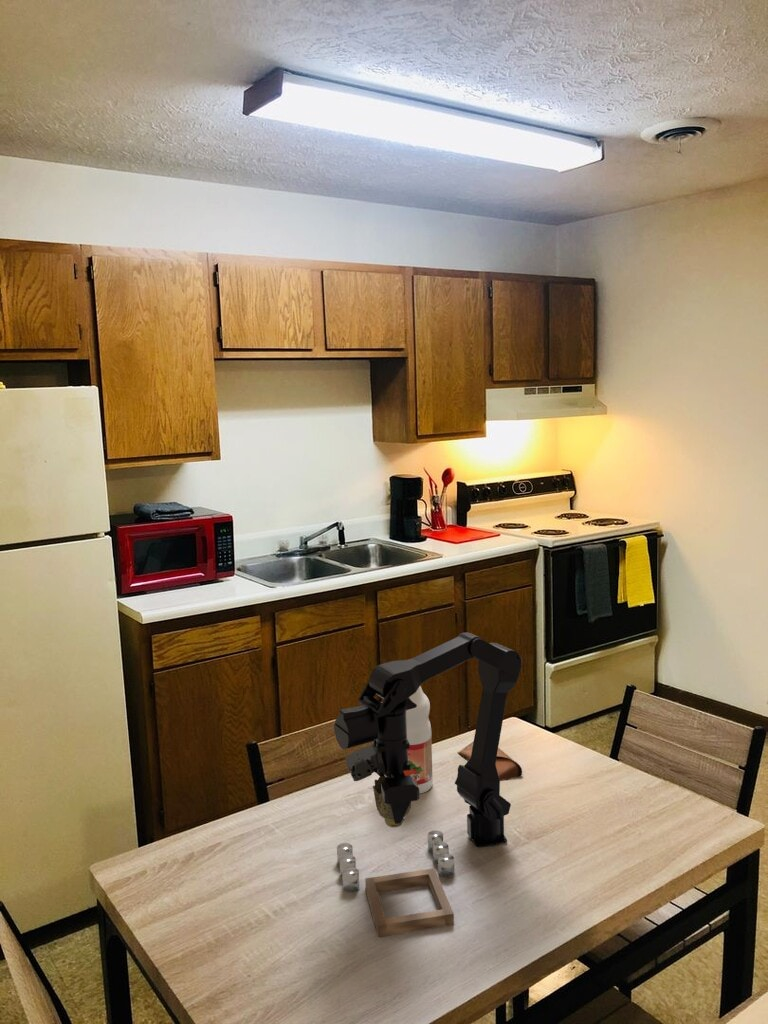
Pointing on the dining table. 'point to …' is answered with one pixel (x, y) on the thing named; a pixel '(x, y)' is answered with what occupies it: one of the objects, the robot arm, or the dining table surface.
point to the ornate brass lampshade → (385, 805)
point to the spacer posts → (434, 846)
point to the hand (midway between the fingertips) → (394, 813)
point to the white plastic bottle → (420, 742)
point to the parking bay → (413, 920)
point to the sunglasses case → (498, 763)
